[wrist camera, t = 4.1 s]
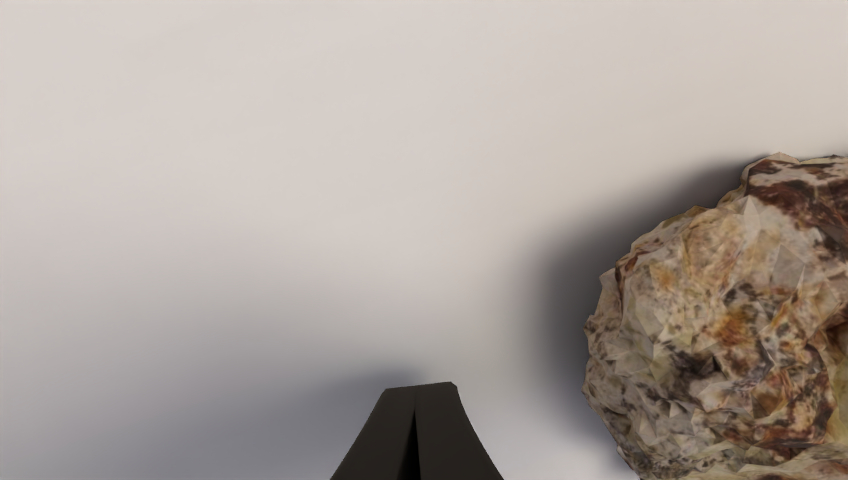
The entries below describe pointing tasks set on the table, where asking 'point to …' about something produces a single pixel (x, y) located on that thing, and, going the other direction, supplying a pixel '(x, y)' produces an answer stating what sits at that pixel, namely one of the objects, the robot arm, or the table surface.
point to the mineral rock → (732, 333)
